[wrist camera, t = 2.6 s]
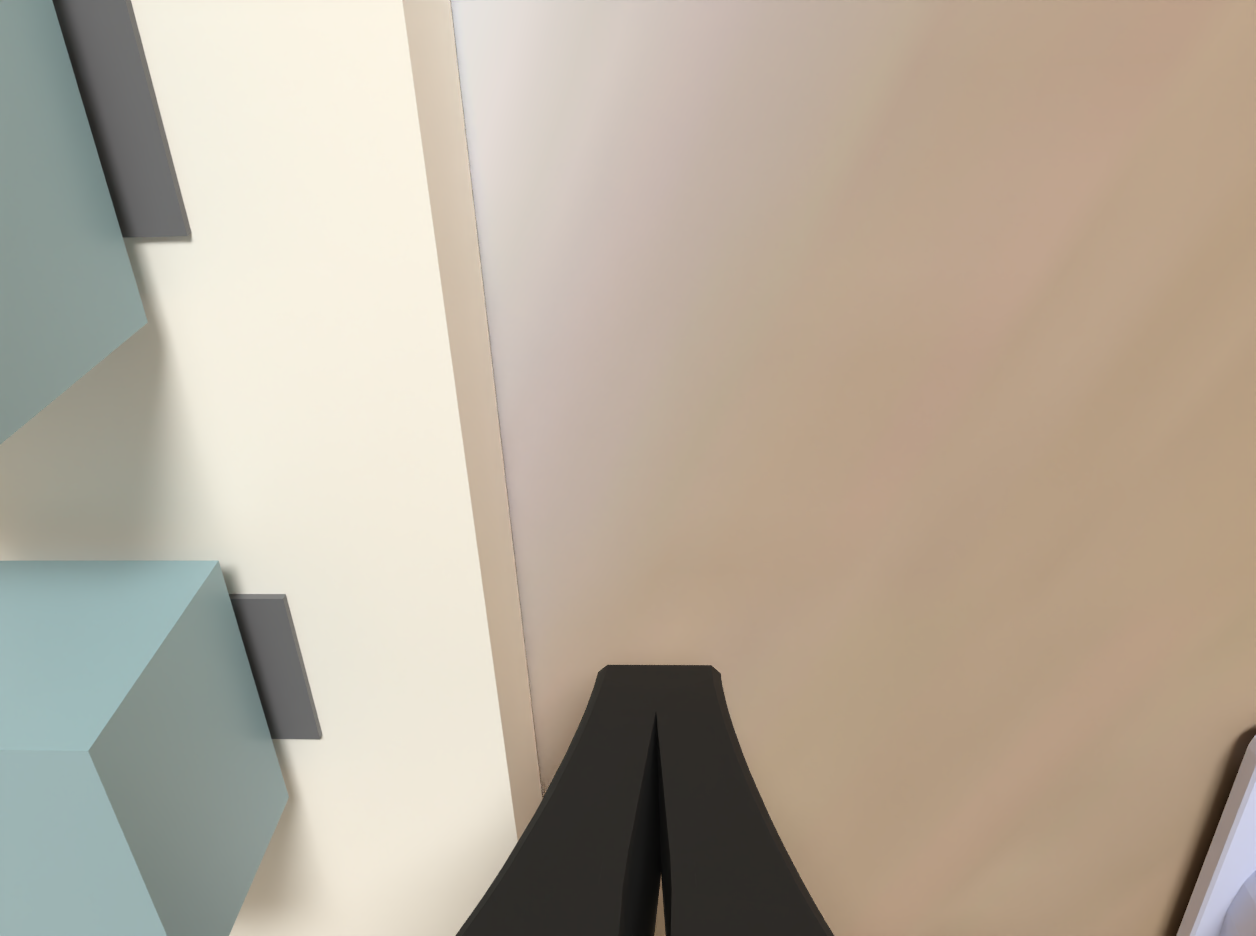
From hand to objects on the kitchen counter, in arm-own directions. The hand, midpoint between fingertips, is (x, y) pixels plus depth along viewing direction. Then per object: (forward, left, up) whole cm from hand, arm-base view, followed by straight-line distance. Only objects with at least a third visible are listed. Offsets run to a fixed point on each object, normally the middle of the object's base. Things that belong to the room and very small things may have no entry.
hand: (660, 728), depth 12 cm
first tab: (0, +7, -1) cm, 7 cm away
